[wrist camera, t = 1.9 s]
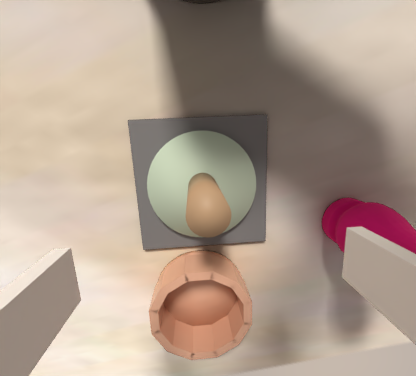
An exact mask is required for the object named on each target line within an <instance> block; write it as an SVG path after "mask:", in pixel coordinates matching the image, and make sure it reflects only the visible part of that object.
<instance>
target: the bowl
mask: <svg viewBox="0 0 416 376" xmlns="http://www.w3.org/2000/svg"><path fill="white" fill-rule="evenodd" d="M149 316H150V324H151V332H152V335H153V336H154V337H155V338H156V339H157V340H158V342H159V343H160V344H161V345H162V346H163V347H164V348H165V349H166V351H167V352H170V353H173V354H176V355H179V356H181V357H184V358H187V359H190V360H195V359H205V358H215V357H218V356H220V355H222V354H224V353H225V352H227V351H229V350H230V349H232V348H234V347H236V346H237V345H239V344H240V342H241V341H242V339H243V338H244V336H245V334H246V333H247V331H248V330H249V328H250V327H251V325H252V301H251V298H250V295H249V292H248V290H247V287H246V284H245V281H244V279H243V278H242V277H241V275H240V272H239V271H238V269H237V267H236V266H235V265H234V264H233V263H232V262H231V261H230V260H229V259H228V258H226V257H225V256H223V255H221V254H218V253H216V252H212V251H205V250H198V251H191V252H187V253H185V254H182V255H180V256H178V257H176V258H175V259H173V260H172V261H171V262H170V263H169V264H167V266H166V267H165V268H164V269H163V271H162V273H161V274H160V277H159V279H158V283H157V284H156V286H155V289H154V293H153V297H152V300H151V304H150V308H149Z"/></svg>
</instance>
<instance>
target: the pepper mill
mask: <svg viewBox="0 0 416 376" xmlns="http://www.w3.org/2000/svg"><path fill="white" fill-rule="evenodd" d="M361 226H362V227H364V228H366V229H367V230H369V231H371V232H373V233H375V234H377V235H379V236H381V237H383V238H385V239H387V240H389V241H391V242H393V243H395V244H397V245H399V246H401V247H403V248H405V249H407V250H409V251H411V252H413V253H415V254H416V230H415V229H414V228H413V227H412V226H411V225H410V224H409V223H408V221H407V220H406V219H405V218H404V217H402V216H401V215H400V214H399V213H397V212H396V211H395V210H393V209H391V208H389V207H387V206H385V205H382V204H379V203H374V202H367V203H364V202H362V201H359V200H357V199H353V198H342V199H339V200H337V201H335V202H333V203H332V204H331V205H330V206H329V207H328V208H327V209H326V211H325V213H324V215H323V218H322V227H323V230H324V232H325V234H326V235H327V236H328V237H329V238H330V239H332V240H333V241H334V242H336V243H337V244H338V246H339V248H340V249H341V251H342V252H343V253H344V250H345V240H346V229H347V227H361Z"/></svg>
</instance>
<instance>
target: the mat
mask: <svg viewBox="0 0 416 376" xmlns="http://www.w3.org/2000/svg"><path fill="white" fill-rule="evenodd" d="M128 126H129V135H130V143H131V151H132V160H133V168H134V176H135V185H136V193H137V201H138V210H139V218H140V226H141V235H142V243H143V250H147V249H160V248H174V247H188V246H202V245H215V244H229V243H243V242H256V241H265V238H266V171H267V115H242V116H217V117H192V118H167V119H141V120H128ZM191 131H212V132H217V133H220V134H223V135H225V136H227V137H229V138H231V139H232V140H234V141H235V142H236V143H238V144H239V145H240V146H241V147H242V148H243V149H244V150H245V152H246V153H247V155H248V156H249V158H250V160H251V162H252V164H253V167H254V170H255V175H256V192H255V197H254V200H253V203H252V205H251V207H250V209H249V211H248V212H247V214H246V215H245V217H244V218H243V219H242V220H241V221H240V222H239V223H238V224H237V225H236V226H234V227H233V228H231V229H230V230H228V231H226V232H224V233H221V234H220V235H217V236H215V237H191V236H187V235H184V234H181V233H178V232H177V231H175V230H173V229H171V228H170V227H168V226H167V225H166V224H165V223H164V222H163V221H162V220H161V219H160V218H159V217H158V216H157V214H156V213H155V211H154V210H153V207H152V205H151V203H150V200H149V197H148V191H147V178H148V173H149V168H150V166H151V163H152V161H153V159H154V158H155V156H156V154H157V153H158V152H159V150H160V149H161V148H162V147H163V146H164V145H165V144H166V143H168V142H169V141H170V140H172V139H173V138H175V137H177V136H179V135H182V134H184V133H187V132H191Z"/></svg>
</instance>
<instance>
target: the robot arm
mask: <svg viewBox="0 0 416 376" xmlns="http://www.w3.org/2000/svg"><path fill="white" fill-rule="evenodd" d="M183 1H187V2H192V3H211V2H216V1H220V0H183ZM342 278H343V279H344V280H345V281H346V282H348V283H349V284H350V285H351V286H352V287H353V288H354V289H355V290H356V291H357V292H358V293H360V294H361V295H362V296H363V297H364V298H365V299H366V300H367V301H368V302H369V303H370V304H372V305H373V306H374V307H375V308H376V309H377V310H378V311H379V312H380V313H381V314H383V315H384V316H385V317H386V318H387V319H388V320H389V321H390V322H391V323H392V324H393V325H395V326H396V327H397V328H398V329H399V330H400V331H401V332H402V333H403V334H404V335H406V336H407V337H408V338H409V339H410V340H411V341H412V342H413V343H414V344H416V254H415V253H413V252H411V251H409V250H407V249H405V248H403V247H401V246H399V245H397V244H395V243H393V242H391V241H389V240H387V239H385V238H383V237H381V236H379V235H377V234H375V233H373V232H371V231H369V230H367V229H366V228H364V227H362V226H361V227H347V229H346V240H345V250H344V260H343V271H342ZM80 301H81V298H80V292H79V287H78V282H77V277H76V272H75V267H74V262H73V256H72V251H71V248H60V249H53V250H51V251H50V252H49V253H48V254H46V255H45V256H44V257H42V258H41V259H40V260H39V261H37V262H36V263H35V264H34V265H32V266H31V267H30V268H28V269H27V270H26V271H25V272H23V273H22V274H21V275H20V276H18V277H17V278H16V279H14V280H13V281H12V282H11V283H9V284H8V285H7V286H6V287H4V288H3V289H2V290H0V376H29V374H30V373H31V371H32V370H33V369H34V367H35V366H36V364H37V363H38V361H39V360H40V358H41V357H42V356H43V354H44V353H45V351H46V350H47V348H48V347H49V346H50V344H51V343H52V341H53V340H54V338H55V337H56V335H57V334H58V333H59V331H60V330H61V328H62V327H63V325H64V324H65V322H66V321H67V320H68V318H69V317H70V315H71V314H72V312H73V311H74V309H75V308H76V307H77V305H78V304H79V302H80Z"/></svg>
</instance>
